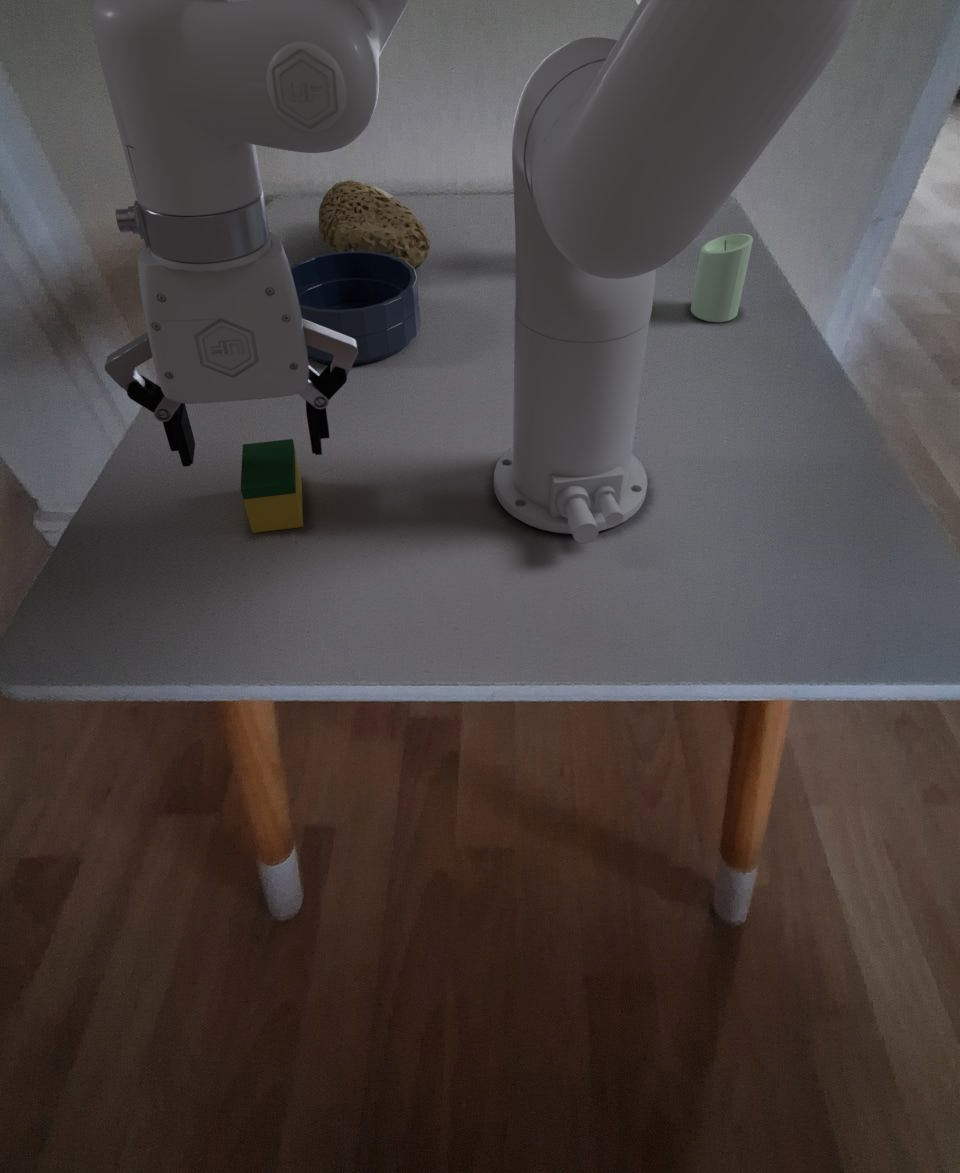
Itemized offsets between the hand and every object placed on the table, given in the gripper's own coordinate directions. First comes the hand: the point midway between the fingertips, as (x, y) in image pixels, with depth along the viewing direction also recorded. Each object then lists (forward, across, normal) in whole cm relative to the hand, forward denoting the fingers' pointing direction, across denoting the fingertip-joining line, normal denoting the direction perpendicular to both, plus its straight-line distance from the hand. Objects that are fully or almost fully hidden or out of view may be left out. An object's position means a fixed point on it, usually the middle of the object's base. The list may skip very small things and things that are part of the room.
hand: (253, 450), depth 65 cm
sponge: (+6, +13, +48) cm, 50 cm away
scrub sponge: (+6, +1, 0) cm, 6 cm away
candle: (+4, +48, +25) cm, 54 cm away
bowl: (+5, +9, +28) cm, 30 cm away
